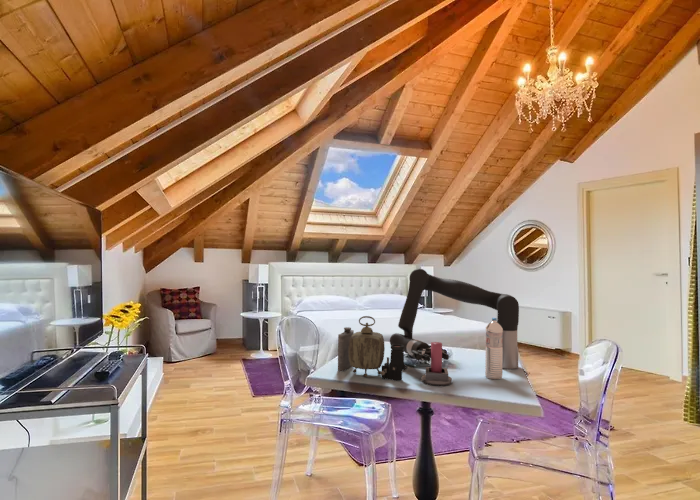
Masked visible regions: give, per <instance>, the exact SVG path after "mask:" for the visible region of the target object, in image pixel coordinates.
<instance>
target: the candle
mask: <svg viewBox="0 0 700 500" xmlns="http://www.w3.org/2000/svg"><path fill="white" fill-rule="evenodd" d="M430 348H431V358H430V367H431V372H437V373H442V368H443V358H442V350H443V343H442V342H440V341H438V342H437V341H432V342H430Z"/></svg>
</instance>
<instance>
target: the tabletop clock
mask: <svg viewBox="0 0 700 500" xmlns="http://www.w3.org/2000/svg"><path fill="white" fill-rule="evenodd" d="M364 318H365V319H366V318H367V319H371V320H373V323H371V324H369V323H368V322H366V323H365V324H364V323H361V320H362V319H364ZM358 323H359V325H360V326H362V328H361V329H360V331H357V332H354V334H353V335H352V336H351V338H350V341H349V350H348V353H349V362H350V365H351V366H352V367H351V368H354V369H352V372H353V374H356V373H357V369H359V370H364V373H363V377H364V378H368V373H367V370H376V371H377V375H378V376H379V375H381V374H380V372H381V371H382V370H380V368H382V365H383V362H384V359H385V358H384V357H385V339H384V335H383V334H382V333H379V332H376V331H373V329H372V328H371V327H373V325H375V324H376V320H375V318H374V317H372V316H369V315H365V316H360V318H359V319H358Z"/></svg>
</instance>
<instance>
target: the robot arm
mask: <svg viewBox="0 0 700 500" xmlns="http://www.w3.org/2000/svg"><path fill="white" fill-rule="evenodd" d="M424 291H429V292H433V293H436V294H440V295H442V296H444V297H447V298H449V299H451V300H456V301H459V302H463V303H466V304H470V305H471V304H472V305H479V306H484V307H487V308H489V309H493V310H494V311H497V315H496V316H497V317H496V318H497V321H496V322H498V323H499V324H500V325H501V327H502V328H503V332H502V347H503V360H502V361H503V362H502V363H503V364H502V365H503V366H502V367H503V368H502V369H506V370H507V369H508V370H509V369H510V370H514V369H519V347H518V327H519V326H518V325H519V319H520V306H519V301H518V300H517V299H516V297H514V296H513V295H510V294H507V293H506V294H505V293H499V292H496V291H495V292H494V291H489V290H487V289H484V288H482V287H480V286H477V285H474V284H471V283H468V282H464V281H462V280H457V279H451V278H449V279H448V278H441V277H438V276H436V275H435V276H434V275H431V274H429V273H428V272H427V271H426V270H425V269H423V268H416V269H414V270H413V271H411V272H410V275H409V286H408V291H407V295H406V299H405V301H404V304H403V307H402V310H401V314H400V317H399V320H398V324H397V327H398V328H399V329H400V330H403V334H402V333H397V332H396V333H393V334H392V335H391V336H390V338H389V344H390V346H391V345H393V344H400V345H403V346H404V349H403V351H404V352H403V353H406V354H408V355H410V356H411V357H412V358H413V359H415V360H419V361H427V362H431V345H429V344H428V343H427V342H425V341H422V340H419V339H414V338H413V332H414V331H413V330H414V325H415V321H416V318H417V314H418V309H419V304H420V300H421V297H422V295H423V292H424ZM449 357H450V356H449V354H448V350H445V349H442V360H446V361H448V360H449Z"/></svg>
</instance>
